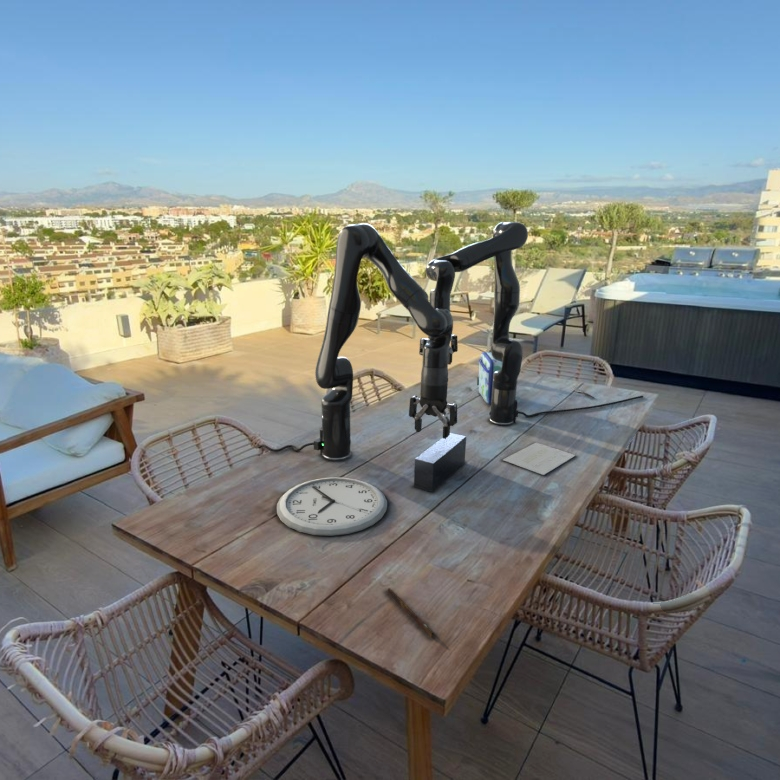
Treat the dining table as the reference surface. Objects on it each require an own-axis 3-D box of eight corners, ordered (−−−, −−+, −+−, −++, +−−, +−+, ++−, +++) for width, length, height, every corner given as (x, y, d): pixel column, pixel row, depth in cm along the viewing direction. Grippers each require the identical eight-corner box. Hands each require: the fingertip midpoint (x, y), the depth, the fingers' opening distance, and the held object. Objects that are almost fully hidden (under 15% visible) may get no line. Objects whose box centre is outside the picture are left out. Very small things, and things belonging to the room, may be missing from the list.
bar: (447, 458, 173) (449, 432, 171) (464, 462, 170) (466, 436, 168) (413, 487, 154) (414, 458, 151) (432, 492, 151) (433, 463, 148)
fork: (592, 399, 235) (592, 395, 235) (571, 389, 250) (572, 385, 249) (597, 399, 236) (597, 394, 235) (576, 388, 251) (576, 384, 250)
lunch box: (475, 390, 246) (478, 346, 240) (498, 390, 246) (501, 347, 240) (484, 408, 221) (487, 360, 215) (509, 409, 221) (513, 360, 215)
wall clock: (392, 527, 129) (268, 531, 127) (391, 533, 130) (269, 537, 127) (383, 473, 158) (282, 475, 155) (383, 478, 158) (282, 480, 156)
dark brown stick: (387, 592, 109) (387, 587, 109) (388, 591, 109) (388, 587, 109) (431, 637, 97) (431, 633, 97) (433, 636, 97) (433, 632, 97)
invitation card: (535, 442, 186) (575, 454, 176) (535, 442, 187) (575, 455, 176) (502, 459, 172) (543, 474, 162) (502, 460, 172) (543, 475, 162)
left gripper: (405, 379, 146) (404, 433, 151) (452, 388, 140) (449, 444, 144) (417, 373, 153) (416, 425, 157) (463, 381, 146) (459, 435, 151)
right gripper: (426, 323, 173) (426, 370, 178) (462, 319, 179) (461, 365, 184) (415, 320, 179) (415, 365, 184) (450, 316, 185) (449, 360, 190)
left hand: (431, 434), depth 151 cm, fingers open, 8 cm apart
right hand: (438, 365), depth 184 cm, fingers open, 8 cm apart
